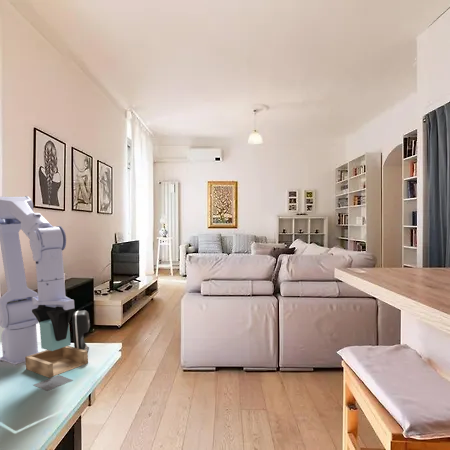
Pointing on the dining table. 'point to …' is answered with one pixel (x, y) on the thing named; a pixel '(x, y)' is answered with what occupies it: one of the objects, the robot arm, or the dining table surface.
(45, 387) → the coaster
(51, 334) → the block
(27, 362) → the crate
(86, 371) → the dining table surface
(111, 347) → the dining table surface
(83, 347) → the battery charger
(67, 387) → the dining table surface
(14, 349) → the robot arm
